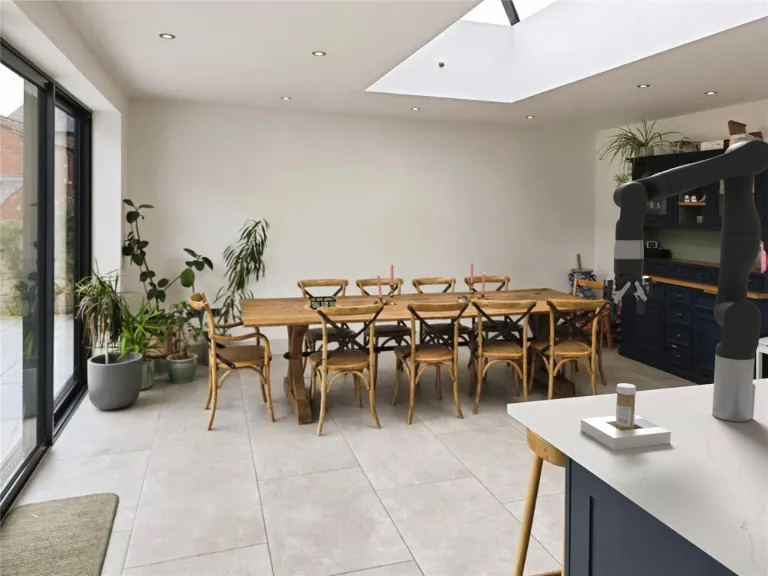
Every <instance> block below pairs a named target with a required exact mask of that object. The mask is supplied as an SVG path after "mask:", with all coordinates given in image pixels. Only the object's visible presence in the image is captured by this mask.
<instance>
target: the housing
mask: <svg viewBox="0 0 768 576" xmlns="http://www.w3.org/2000/svg"><path fill="white" fill-rule="evenodd" d="M580 431H581V432H583V433H584V432H585V433H584V434H586V435H587V436H590V437H592V439H595V440H597V441H598V442H600V443H601V444H603V445H604V446H606V447H608V448H609V449H611V450H613V451H617V450H623V449H624V450H625V448H627V449H633V448H634V447H635V448H642V447H653V446H659V445H667V444H671V434H672V433H671V432H672V431H671V430H669V429H666V428H664V427H663V426H661V425H657V424H656V423H653V422H651V421H649V420H647V419H646V418H644V417H641V416H639V415H637V414H635V421H634V430H625V431H621V430H619V429H617V428H616V415H607V416H599V417H597V416H596V417H589V418H581V419H580ZM635 448H634V449H635Z"/></svg>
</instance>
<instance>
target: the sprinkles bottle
mask: <svg viewBox="0 0 768 576" xmlns="http://www.w3.org/2000/svg"><path fill="white" fill-rule="evenodd" d="M636 393H637V386H636V385H635V384H632V383H624V382H623V383H622V382H621V383H618V384H617V385H616V406H615V407H616V410H615V416H616V428H617V429H619V430H621V431H625V430H634V421H635V415H636V414H635V409H636V408H635V405H636Z"/></svg>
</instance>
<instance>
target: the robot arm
mask: <svg viewBox="0 0 768 576" xmlns="http://www.w3.org/2000/svg"><path fill="white" fill-rule="evenodd" d="M767 169H768V142H766V141H764V140H761V139H748V140H744V141H739V142H735V143H734V144H731V145H730V146H729V147H728V148H727V149H726V151H724V153H723V154H720V155H717V156H715V157H712V158H711V157H710V158H708V159H705V160H700V161H696V162H693V163H689V164H684V165H680V166H677V167H674V168H670V169H668V170H665V171H662V172H658V173H655V174H653V175H651V176H648V177H643V178H641V179H636V180H633V181H629V182H625V183H623V184H620V185H619V186H618V187H617V188H616V189H615V190H614V192H613V196H612V200H613V202H614V204H615V205H616V206H617V207H618V208H620V209H619V219H617V221H616V224H615V232H614V233H615V235H614V237H615V238H614V239H615V240H614V246H613V274H614V278H613V279H612V278H604V279H603V289H602V300H603V301H606V302H608V303H609V304H608V305H609V306H608V308H609V310H608V311H609V315H610V316H611V317H618V315H619V312H618V311H619V303H618V301H619V300H620V298H622V297H623V296H624V295H628V294H633V295H634V296H635V298H636V299H637V300H636V314H637V315H644V314H645V312H646V302H647V300H649V299H652V298H653V278H652V277H651V276H645V275H644V276H642V274H643V273H644V258H645V257H644V256H645V255H644V254H645V252H644V251H645V249H644V248H645V246H644V221H645V218H646V217H645V216H646V213H647V207H648V203H649V202H652V201H657V200H663V199H666V198H667V199H668V198H670V197H674V196H677V195H680V194H682V193H683V194H684V193H685V192H689V191H692V190H695V189H697V188H701V187H703V186H706V185H709V184H712V183H713V184H714V183H716V182H718V181H722V183H723V205H722V217H721V218H722V219H721V220H722V222H721V229H720V231H721V233H720V255H719V275H718V276H719V278H718V279H719V280H718V286H717V292H716V298H715V303H714V307H713V308H714V309H713V315H714V318H715V319H714V320H715V321H716V323H717V324H718V325H719V326H720V327H721V328H722V334H721V335H722V337H721V341H720V343H717V344H716V346H715V347H716V348H715V359H714V375H713V376H714V379H713V393H712V413H711V414H712V416H713V417H715V418H718V419H720V420H724V421H729V422H739V423H743V422H750V420H751V419H754V415H755V414H754V412H755V399H756V397H755V396H756V385H755V383H754V370H755V368H754V366H755V356H756V351H757V349H758V348H759V344H760V336H761V326H762V315H761V314H762V313H761V311H760V309H759V306H757V304H755V303H753V302H752V301H750V300H748V284H749V283H748V282H749V277H750V274H751V271H752V270H753V267H754V265H755V263H756V261H757V258H758V255H759V253H760V247H761V236H762V234H761V233H762V226H761V220H760V217H759V213H758V210H757V207H756V204H755V200H754V196H753V195H754V192H753V191H754V189H753V188H754V180H755V175H759V174H761V173H763V172H764V171H766V170H767Z"/></svg>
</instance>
